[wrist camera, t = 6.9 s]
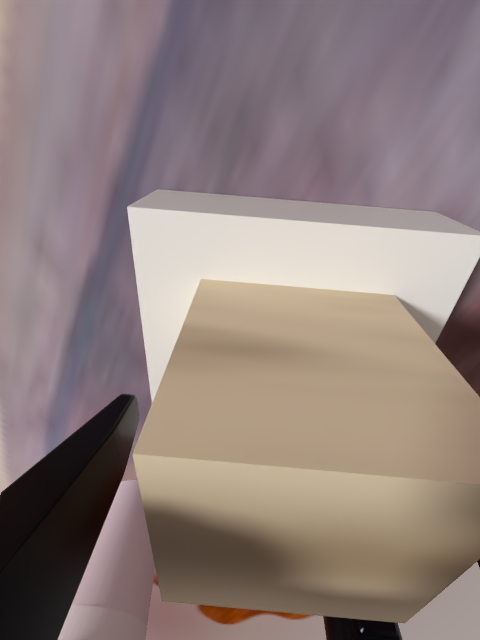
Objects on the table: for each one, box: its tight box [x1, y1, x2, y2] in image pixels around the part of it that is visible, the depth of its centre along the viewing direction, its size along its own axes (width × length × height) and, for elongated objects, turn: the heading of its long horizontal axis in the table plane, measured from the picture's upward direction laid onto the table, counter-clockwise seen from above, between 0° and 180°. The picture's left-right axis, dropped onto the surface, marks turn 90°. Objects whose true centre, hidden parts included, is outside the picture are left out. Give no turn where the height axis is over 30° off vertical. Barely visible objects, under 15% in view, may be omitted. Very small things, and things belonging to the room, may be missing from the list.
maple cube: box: [133, 279, 480, 623], centre depth 8 cm, size 6×6×6 cm
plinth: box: [127, 189, 480, 403], centre depth 12 cm, size 10×10×3 cm
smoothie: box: [58, 480, 155, 640], centre depth 16 cm, size 6×6×14 cm
